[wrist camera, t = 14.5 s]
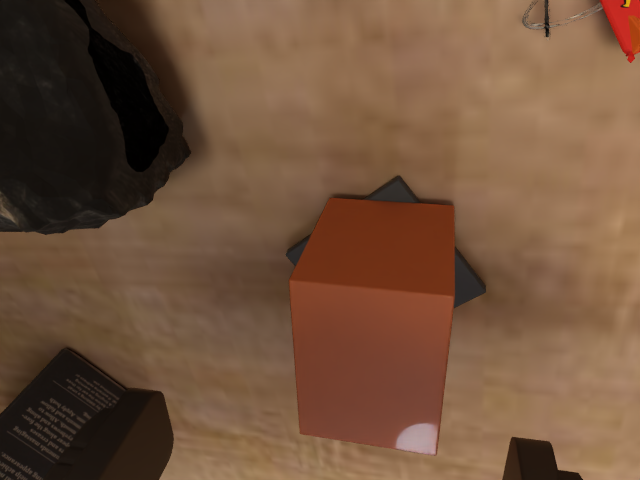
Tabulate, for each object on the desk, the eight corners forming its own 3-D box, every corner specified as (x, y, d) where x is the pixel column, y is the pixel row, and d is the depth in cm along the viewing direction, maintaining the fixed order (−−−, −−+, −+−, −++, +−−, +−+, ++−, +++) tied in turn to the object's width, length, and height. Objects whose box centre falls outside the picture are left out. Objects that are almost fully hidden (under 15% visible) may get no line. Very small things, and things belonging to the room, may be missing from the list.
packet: (440, 342, 19) (436, 456, 15) (332, 329, 20) (299, 434, 15) (454, 205, 16) (454, 296, 12) (329, 197, 17) (287, 280, 13)
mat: (287, 249, 19) (284, 255, 19) (399, 174, 17) (398, 179, 16) (371, 343, 20) (370, 349, 20) (486, 286, 18) (486, 292, 17)
